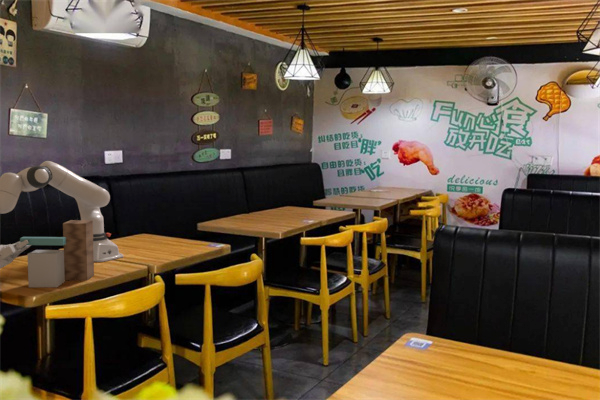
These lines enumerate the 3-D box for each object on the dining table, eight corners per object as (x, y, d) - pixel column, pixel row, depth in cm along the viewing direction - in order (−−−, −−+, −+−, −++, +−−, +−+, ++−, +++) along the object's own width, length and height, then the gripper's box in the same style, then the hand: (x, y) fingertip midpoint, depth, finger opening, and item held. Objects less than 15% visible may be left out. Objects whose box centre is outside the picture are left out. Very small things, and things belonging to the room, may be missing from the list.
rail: (20, 245, 240) (20, 238, 240) (23, 243, 243) (23, 236, 243) (63, 245, 241) (63, 238, 241) (66, 243, 244) (65, 237, 244)
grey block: (28, 287, 239) (27, 254, 238) (37, 281, 248) (36, 249, 247) (57, 287, 240) (56, 254, 239) (64, 281, 249) (63, 249, 248)
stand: (64, 280, 252) (62, 223, 249) (72, 275, 261) (70, 220, 259) (87, 280, 252) (85, 223, 249) (94, 275, 262) (92, 220, 259)
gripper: (-14, 254, 231) (16, 237, 231) (9, 244, 251) (36, 229, 251) (-5, 267, 232) (24, 250, 232) (17, 256, 252) (43, 242, 252)
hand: (30, 239), depth 242 cm, fingers closed on rail, 3 cm apart
